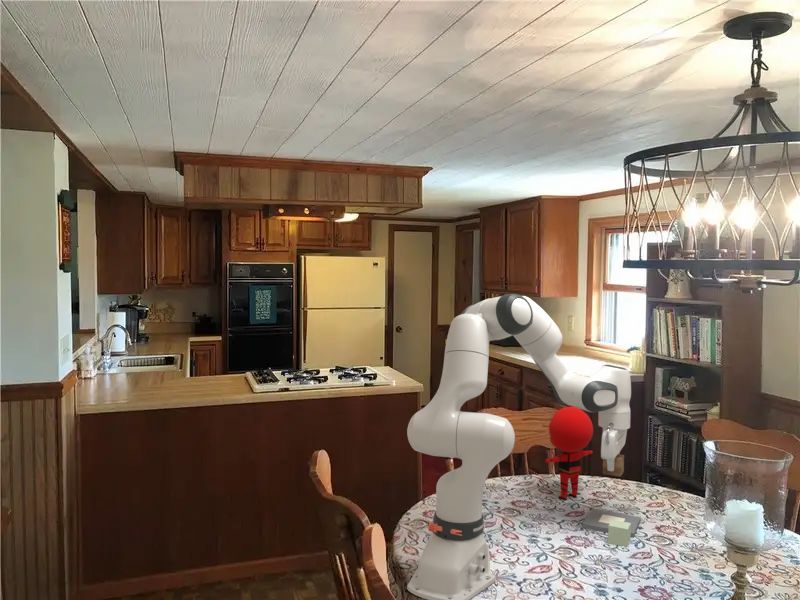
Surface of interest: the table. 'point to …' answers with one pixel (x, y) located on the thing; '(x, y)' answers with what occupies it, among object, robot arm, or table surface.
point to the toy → (570, 445)
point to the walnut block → (618, 466)
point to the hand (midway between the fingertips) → (612, 467)
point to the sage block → (619, 533)
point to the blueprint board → (609, 520)
